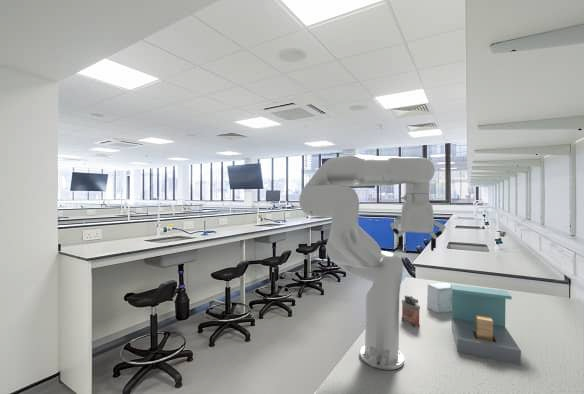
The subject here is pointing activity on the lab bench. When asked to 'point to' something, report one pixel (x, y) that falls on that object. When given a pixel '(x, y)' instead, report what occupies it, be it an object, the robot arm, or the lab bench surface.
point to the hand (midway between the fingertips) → (416, 249)
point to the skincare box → (439, 297)
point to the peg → (484, 327)
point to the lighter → (410, 311)
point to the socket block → (464, 323)
